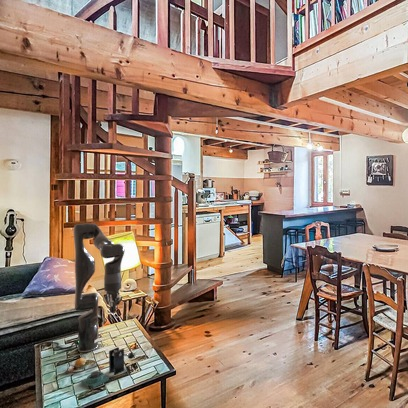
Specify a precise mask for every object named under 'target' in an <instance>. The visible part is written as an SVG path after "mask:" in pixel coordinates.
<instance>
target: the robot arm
mask: <svg viewBox="0 0 408 408" xmlns="http://www.w3.org/2000/svg"><path fill="white" fill-rule="evenodd" d="M72 232H73V242H74V243H73V244H74V278H75V291H74V309H75V311H77V312H82V311H87V310H89V311H87V312H86V313H84V314H81V315H80V316H78V318H77V328H78V329H77V331H78V333H77V339H74V341H73V342H72V343H71V344H70V346H67V347H63V346H60V343H59V342H57V341H45V342H41V343H39V344H37V345H36V346H35V347H36V348H38V347H40V346H42V345H46V344H54V345H56V349H60V350H67V349H71V348H72V347H73V346H77V351H78V353H88V352H92V351H94V350H96V349H98V348H99V341H100V337H99V311H98V310H99V295H98V293H97V292H90V293H84V294H83V291H84V289H85V288H86V286H87V284H88V282H89V281H90V280H91V279H92V277H93V276H94V274H95V272H96V260H95V258H94V257H93V255H92V254H91V253H90V252H89V251H88V249H86V246H85V244H84V240H92V244H93V246H94V247H95V248H96V249H98V250H99V253H100V256H101V257H102V258H103V259H112V258H113V259H112V260H110V261H108V262H106V263H104V278H103V281H104V282H103V288H104V291H105V293H104V294H103V298H104V300H105V302H106V305H108V306H109V313H110V314H115V313H116V312H117V306H118V305H120V304H121V302H122V300H123V296H121V295H120V290H121V289H122V272H121V271H122V262H123V258H124V256H125V249H126V248H125V246H124V245H123V244H121V243H114V242H113V240H111V239H110V238H108V237H107V236H106V235H105V233H104V232H103V231H102V229H101V228H100V226H99V225H97V223H94V222H88V223H76V224H74V227H73V231H72Z"/></svg>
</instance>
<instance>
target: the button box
mask: <svg viewBox="0 0 408 408" xmlns="http://www.w3.org/2000/svg"><path fill="white" fill-rule="evenodd" d="M108 381H110V378H109V377H108V376H105V375H104V372H102V371H100V376H99V377H97V378H91V374H89V375H88V376H87V377H85V378H83V379H82V380H80V383H81V384H83V385H85V386H89V387H90V388H93V389H94V388H97V387H99V386H100V385H102V384H104V383H106V382H108Z"/></svg>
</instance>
